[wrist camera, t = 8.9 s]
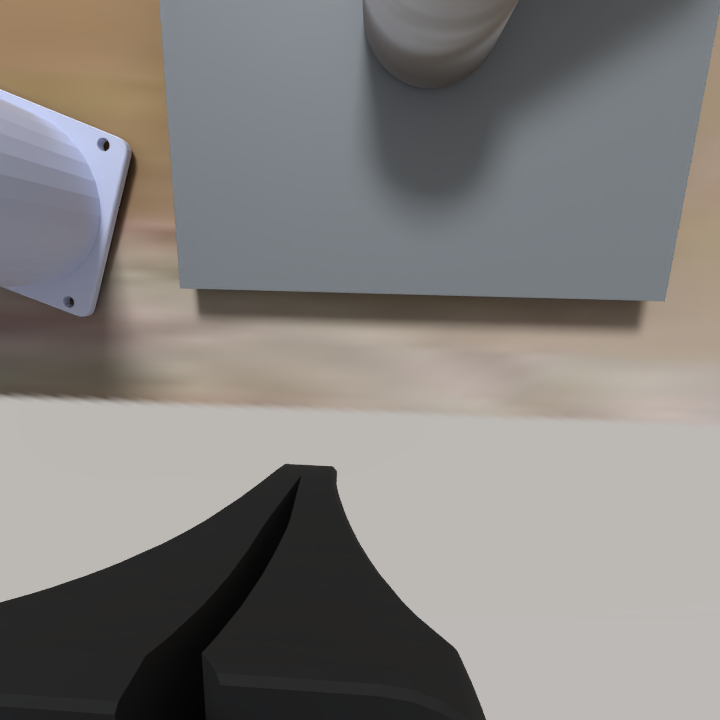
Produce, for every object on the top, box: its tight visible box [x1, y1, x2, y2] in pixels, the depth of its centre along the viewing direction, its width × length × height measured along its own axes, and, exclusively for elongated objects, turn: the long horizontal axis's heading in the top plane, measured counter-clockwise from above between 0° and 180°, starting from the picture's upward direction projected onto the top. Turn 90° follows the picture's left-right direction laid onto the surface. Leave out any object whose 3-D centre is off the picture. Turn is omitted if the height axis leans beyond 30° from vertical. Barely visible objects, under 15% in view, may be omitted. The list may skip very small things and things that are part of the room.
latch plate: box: [159, 0, 720, 301], centre depth 15 cm, size 20×20×2 cm
